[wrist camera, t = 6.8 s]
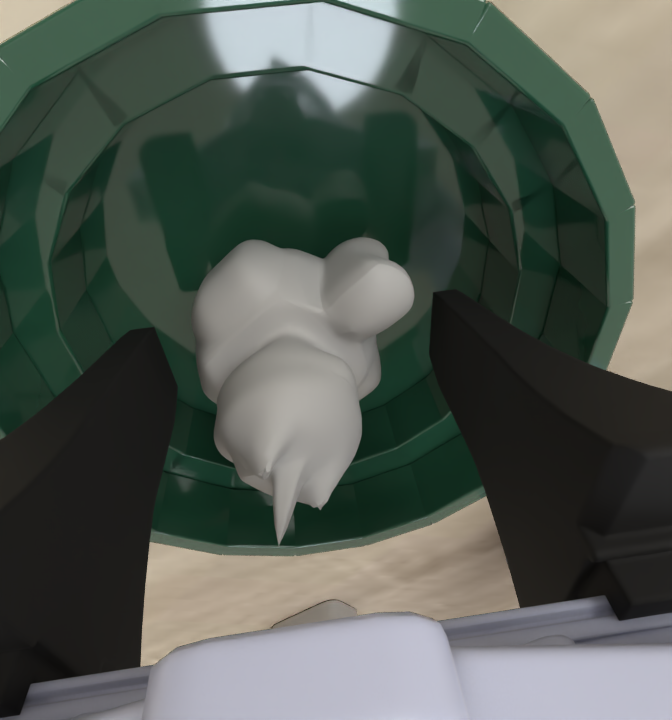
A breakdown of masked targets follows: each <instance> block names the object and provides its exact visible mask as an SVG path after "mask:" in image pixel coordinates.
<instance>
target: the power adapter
mask: <svg viewBox="0 0 672 720" xmlns="http://www.w3.org/2000/svg"><path fill="white" fill-rule="evenodd" d="M352 616H357V611H356V609H354V608H352V607H350V606H348V605H346V604H345V603H343V602H341V601H337V600H330V601H326V602H323V603H321V604H319V605H317V606H314V607H312V608H310V609H308V610H306V611H303V612H301V613H299V614H297V615H295V616H293V617H290V618H288V619H286V620H284V621H282V622H279V623H277V624H275V625H274V626H273V627H272V629H273V628H280V627H286V626H293V625H299V624H306V623H312V622H319V621H326V620H332V619H339V618H345V617H352Z"/></svg>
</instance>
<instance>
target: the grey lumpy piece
mask: <svg viewBox="0 0 672 720" xmlns="http://www.w3.org/2000/svg"><path fill="white" fill-rule="evenodd" d="M413 301H414V289H413V285H412V282H411V279H410V277H409V275H408V274H407V272H406V271H405V270H404V269H403V268H402V267H401V266H400V265H398V264H397V263H395V262H393V261H390V260H389V256H388V250H387V249H386V248H385V246H384V245H383V244H382V243H380V242H379V241H377V240H374V239H371V238H365V237H359V238H353V239H350V240H347V241H345V242H343V243H341V244H339V245H338V246H336V247H335V248H334V249H333V250H332V251H331V252H330V253H329V254H328V255H327V256H326V257H325V258H324V259H322V258H319V257H317V256H314V255H312V254H309V253H306V252H303V251H300V250H297V249H291V248H286V249H282V248H279V247H276V246H274V245H272V244H270V243H268V242H265V241H262V240H247V241H244V242H242V243H240V244H239V245H237V246H236V247H235V248H234V249H233V250H231V251H230V252H229V253H228V254H227V255H226V256H225V257H224V258H223V259H222V260H221V261H220V262H219V263H218V264H217V265H216V266H215V267H214V268H213V269H212V270H211V271H210V272H209V273H208V274H207V276H206V277H205V278H204V280H203V282H202V284H201V285H200V287H199V290H198V292H197V295H196V297H195V300H194V304H193V309H192V318H191V324H192V330H193V333H194V336H195V339H196V363H197V369H198V374H199V378H200V382H201V387H202V389H203V392H204V393H205V395H206V396H207V397H208V398H209V399H210V400H211V401H213V402H214V403H216V404H217V415H216V421H215V427H214V441H215V445H216V447H217V449H218V451H219V452H220V453H221V455H222V456H224V457H225V458H226V459H227V460H229V461H231V462H233V463H234V465H235V468H236V471H237V473H238V475H239V477H240V479H241V480H242V481H243V482H245V483H247V484H249V485H251V486H252V487H254V488H256V489H258V490H260V491H262V492H264V493H266V494H269V495H271V496H273V512H274V524H275V530H276V535H277V540H278V545H279V544H280V542H281V540H282V538H283V536H284V534H285V532H286V529H287V527H288V524H289V522H290V519H291V516H292V514H293V511H294V508H295V505H296V502H301V503H305V504H309V505H311V506H312V507H313V508H314V507H318V508H319V509H320V510H321V508H322V507H323V506H324V505H325V504H326V503H327V501H328V499H329V497H330V495H331V493H332V491H333V490H334V488H335V487H336V485H337V484H338V482H339V480H340V479H341V477H342V476H343V474H344V472H345V471H346V470H347V468H348V467H349V465H350V463H351V462H352V460H353V458H354V456H355V454H356V452H357V449H358V446H359V443H360V440H361V436H362V416H361V410H360V406H359V400H361V399H362V398H364V397H365V396H366V395H368V394H369V393H370V392H372V391H373V390H374V389H375V388H376V387H377V386H378V384H379V382H380V380H381V364H380V356H379V352H378V347H377V343H376V334H378V333H380V332H382V331H384V330H385V329H387V328H388V327H390V326H391V325H393V324H394V323H396V322H397V321H398V320H399V319H401V318H402V317H403V316H404V315H406V313H407V312H408V311H409V310H410V309H411V307H412V305H413Z"/></svg>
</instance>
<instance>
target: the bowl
mask: <svg viewBox="0 0 672 720" xmlns="http://www.w3.org/2000/svg"><path fill="white" fill-rule="evenodd" d="M634 204H635V200H634V198H633V195H632V193H631V191H630V188H629V186H628V183H627V181H626V178H625V176H624V173H623V171H622V168H621V166H620V163H619V161H618V158H617V156H616V153H615V151H614V148H613V146H612V143H611V141H610V139H609V136H608V134H607V131H606V129H605V126H604V124H603V121H602V119H601V116H600V114H599V111H598V109H597V106H596V104H595V101H594V99H593V98H591V97H590V94H589V93H588V92H587V91H586V90H585V89H584V88H583V87H582V86H581V85H580V84H579V83H578V82H577V81H575V80H574V79H573V78H572V77H571V76H570V75H569V74H568V73H567V72H566V71H565V70H564V69H563V68H562V67H561V66H559V65H558V64H557V63H556V62H555V61H554V60H553V59H552V58H551V57H550V56H549V55H548V54H547V53H546V52H544V51H543V50H542V49H541V48H540V47H539V46H538V45H537V44H536V43H535V42H534V41H533V40H532V39H531V38H530V37H528V36H527V35H526V34H525V33H524V32H523V31H522V30H521V29H520V28H519V27H518V26H517V25H516V24H515V23H514V22H512V21H511V20H510V19H509V18H508V17H507V16H506V15H505V14H504V13H503V12H502V11H501V10H500V9H499V8H497V7H496V6H495V5H494V4H493V3H492V2H489V1H486V0H73V1H72V2H70V3H68V4H67V5H65V6H63V7H61V8H60V9H58V10H56V11H54V12H53V13H51V14H49V15H48V16H46V17H44V18H42V19H41V20H39V21H37V22H36V23H34V24H32V25H30V26H29V27H27V28H25V29H24V30H22V31H20V32H18V33H17V34H15V35H13V36H12V37H10V38H8V39H6V40H5V41H3V42H1V43H0V440H1V439H2V438H4V437H5V436H7V435H8V434H9V433H11V432H12V431H14V430H15V429H16V428H18V427H19V426H20V425H22V424H23V423H25V422H26V421H27V420H29V419H30V418H31V417H32V416H34V415H35V414H36V413H38V412H39V411H40V410H41V409H43V408H44V407H45V406H46V405H47V404H49V403H50V402H51V401H52V400H53V399H54V398H56V397H57V396H58V395H59V394H60V393H61V392H63V391H64V390H65V389H66V388H67V387H68V386H70V385H71V384H72V383H73V382H74V381H75V380H76V379H78V378H79V377H80V376H81V375H82V374H83V373H84V372H85V371H86V370H87V369H88V368H89V367H90V366H91V365H92V364H93V363H95V362H96V361H97V360H98V359H99V358H100V357H101V356H102V355H103V354H104V353H105V352H106V351H107V350H108V349H109V348H110V347H111V346H112V345H114V344H115V343H116V342H117V341H118V340H119V339H120V338H121V337H122V336H123V335H125V334H126V333H127V332H128V331H130V330H134V329H142V328H150V327H154V328H155V330H156V333H157V335H158V338H159V340H160V343H161V345H162V348H163V350H164V353H165V355H166V358H167V360H168V363H169V365H170V368H171V371H172V373H173V376H174V378H175V381H176V383H177V386H178V392H177V405H176V415H175V422H174V426H173V431H172V435H171V439H170V443H169V448H168V452H167V456H166V460H165V464H164V468H163V472H162V476H161V480H160V484H159V488H158V492H157V496H156V501H155V506H154V512H153V520H152V528H151V535H150V542H154V543H159V544H165V545H170V546H175V547H180V548H186V549H191V550H196V551H202V552H207V553H212V554H217V555H222V554H223V555H246V556H295V555H296V556H301V555H307V554H314V553H321V552H328V551H335V550H341V549H348V548H355V547H362V546H365V545H370V544H373V543H376V542H379V541H382V540H386V539H389V538H392V537H395V536H398V535H401V534H404V533H407V532H410V531H413V530H417V529H420V528H423V527H426V526H429V525H432V523H436V522H438V521H440V520H442V519H444V518H446V517H448V516H450V515H451V514H453V513H455V512H457V511H459V510H461V509H463V508H465V507H466V506H468V505H470V504H472V503H474V502H476V501H478V500H480V499H482V498H483V497H485V496H486V493H485V490H484V487H483V484H482V481H481V479H480V476H479V473H478V470H477V467H476V464H475V462H474V460H473V457H472V455H471V453H470V450H469V448H468V446H467V444H466V442H465V440H464V438H463V436H462V434H461V431H460V429H459V427H458V425H457V423H456V421H455V419H454V417H453V415H452V413H451V411H450V409H449V406H448V404H447V402H446V400H445V398H444V396H443V394H442V392H441V389H440V387H439V385H438V382H437V379H436V376H435V373H434V370H433V366H432V363H431V360H430V356H429V344H430V329H431V314H432V299H433V292H437V291H445V290H453V289H457V290H458V291H460V292H462V293H463V294H465V295H467V296H468V297H470V298H471V299H473V300H474V301H476V302H477V303H479V304H480V305H482V306H483V307H485V308H486V309H488V310H489V311H491V312H493V313H494V314H496V315H497V316H499V317H500V318H502V319H503V320H505V321H507V322H508V323H510V324H512V325H513V326H515V327H516V328H518V329H520V330H522V331H523V332H525V333H527V334H529V335H530V336H532V337H534V338H536V339H538V340H540V341H541V342H543V343H545V344H547V345H549V346H551V347H553V348H555V349H557V350H559V351H561V352H563V353H566V354H568V355H570V356H572V357H575V358H577V359H579V360H581V361H583V362H586V363H588V364H591V365H593V366H596V367H598V368H601V369H604V370H607V368H608V365H609V363H610V360H611V358H612V355H613V352H614V350H615V347H616V345H617V342H618V340H619V337H620V334H621V332H622V329H623V327H624V324H625V321H626V319H627V316H628V314H629V311H630V309H631V306H632V300H633V295H634V251H635V205H634ZM359 237H365V238H371V239H374V240H377V241H379V242H380V243H382V244H383V245H384V246H385V248H386V249H387V250H388V256H389V260H390V261H393V262H395V263H397V264H398V265H400V266H401V267H402V268H403V269H404V270H405V271H406V272H407V274H408V275H409V277H410V279H411V282H412V285H413V289H414V301H413V305H412V307H411V309H410V310H409V311H408V312H407V313H406V315H404V316H403V317H402V318H401V319H399V320H398V321H397V322H396V323H394V324H393V325H391V326H390V327H388V328H387V329H385V330H384V331H382V332H380V333H378V334H376V343H377V347H378V352H379V356H380V364H381V380H380V382H379V384H378V386H377V387H376V388H375V389H374V390H373V391H372V392H370V393H369V394H368V395H366V396H365V397H364V398H362V399H361V400H359V406H360V410H361V416H362V436H361V440H360V443H359V446H358V449H357V452H356V454H355V456H354V458H353V460H352V462H351V463H350V465H349V467H348V468H347V470H346V471H345V472H344V474H343V476H342V477H341V479H340V480H339V482H338V484H337V485H336V487H335V488H334V490H333V491H332V493H331V495H330V497H329V499H328V501H327V503H326V504H325V505H324V506H323V507H322V508H321V510H320V509H319V508H318V507H314V508H313V507H312V506H311V505H309V504H305V503H301V502H296V505H295V508H294V511H293V514H292V516H291V519H290V522H289V524H288V527H287V529H286V532H285V534H284V536H283V538H282V540H281V542H280V544H279V545H278V540H277V535H276V530H275V524H274V512H273V496H271V495H269V494H266V493H264V492H262V491H260V490H258V489H256V488H254V487H252V486H251V485H249V484H247V483H245V482H243V481H242V480H241V479H240V477H239V475H238V473H237V471H236V468H235V465H234V463H233V462H231V461H229V460H227V459H226V458H225V457H224V456H222V455H221V453H220V452H219V451H218V449H217V447H216V445H215V441H214V427H215V421H216V415H217V404H216V403H214V402H213V401H211V400H210V399H209V398H208V397H207V396H206V395H205V393H204V392H203V389H202V387H201V382H200V378H199V374H198V369H197V363H196V339H195V336H194V333H193V330H192V324H191V318H192V309H193V304H194V300H195V297H196V295H197V292H198V290H199V287H200V285H201V284H202V282H203V280H204V278H205V277H206V276H207V274H208V273H209V272H210V271H211V270H212V269H213V268H214V267H215V266H216V265H217V264H218V263H219V262H220V261H221V260H222V259H223V258H224V257H225V256H226V255H227V254H228V253H229V252H230V251H231V250H233V249H234V248H235V247H236V246H237V245H239V244H240V243H242V242H244V241H247V240H262V241H265V242H268V243H270V244H272V245H274V246H276V247H279V248H282V249H286V248H291V249H297V250H300V251H303V252H306V253H309V254H312V255H314V256H317V257H319V258H322V259H324V258H325V257H326V256H327V255H328V254H329V253H330V252H331V251H332V250H333V249H334V248H335V247H336V246H338V245H339V244H341V243H343V242H345V241H347V240H350V239H353V238H359Z"/></svg>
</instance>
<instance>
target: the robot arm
mask: <svg viewBox="0 0 672 720" xmlns="http://www.w3.org/2000/svg"><path fill="white" fill-rule="evenodd" d="M429 356H430V360H431V363H432V366H433V370H434V373H435V376H436V379H437V382H438V385H439V387H440V389H441V392H442V394H443V396H444V398H445V400H446V402H447V404H448V406H449V409H450V411H451V413H452V415H453V417H454V419H455V421H456V423H457V425H458V427H459V429H460V431H461V434H462V436H463V438H464V440H465V442H466V444H467V446H468V448H469V450H470V453H471V455H472V457H473V460H474V462H475V464H476V467H477V470H478V473H479V476H480V479H481V481H482V484H483V487H484V490H485V493H486V496H487V499H488V502H489V505H490V508H491V511H492V514H493V517H494V520H495V523H496V527H497V530H498V533H499V536H500V539H501V543H502V546H503V549H504V553H505V556H506V562H507V564H508V566H509V569H510V573H511V576H512V580H513V584H514V587H515V591H516V595H517V598H518V602H519V606H520V608H518V609H512V610H505V611H499V612H492V613H486V614H479V615H473V616H467V617H460V618H454V619H447V620H441V621H436V620H434V619H432V618H429V617H426V616H423V615H419V614H416V613H412V612H384V613H371V614H365V615H358V616H352V617H345V618H339V619H332V620H326V621H319V622H312V623H306V624H299V625H293V626H286V627H280V628H273V629H267V630H260V631H254V632H247V633H241V634H234V635H227V636H221V637H214V638H209V639H205V640H201V641H198V642H194V643H190V644H187V645H183V646H180V647H177V648H175V649H174V650H173V651H171V652H170V653H169V654H167V655H166V656H165V657H163V658H162V659H161V660H159V661H158V662H157V663H156V664H155V665H150V666H143V667H140V661H141V639H142V622H143V608H144V594H145V582H146V572H147V562H148V552H149V543H150V535H151V528H152V520H153V512H154V506H155V501H156V496H157V492H158V488H159V484H160V480H161V476H162V472H163V468H164V464H165V460H166V456H167V452H168V448H169V443H170V439H171V435H172V431H173V426H174V422H175V415H176V405H177V392H178V386H177V383H176V381H175V378H174V376H173V373H172V371H171V368H170V365H169V363H168V360H167V358H166V355H165V353H164V350H163V348H162V345H161V343H160V340H159V338H158V335H157V333H156V330H155V328H154V327H150V328H142V329H134V330H130V331H128V332H127V333H126V334H125V335H123V336H122V337H121V338H120V339H119V340H118V341H117V342H116V343H115V344H114V345H112V346H111V347H110V348H109V349H108V350H107V351H106V352H105V353H104V354H103V355H102V356H101V357H100V358H99V359H98V360H97V361H96V362H95V363H93V364H92V365H91V366H90V367H89V368H88V369H87V370H86V371H85V372H84V373H83V374H82V375H81V376H80V377H79V378H78V379H76V380H75V381H74V382H73V383H72V384H71V385H70V386H68V387H67V388H66V389H65V390H64V391H63V392H61V393H60V394H59V395H58V396H57V397H56V398H54V399H53V400H52V401H51V402H50V403H49V404H47V405H46V406H45V407H44V408H43V409H41V410H40V411H39V412H38V413H36V414H35V415H34V416H32V417H31V418H30V419H29V420H27V421H26V422H25V423H23V424H22V425H20V426H19V427H18V428H16V429H15V430H14V431H12V432H11V433H9V434H8V435H7V436H5V437H4V438H2V439H1V440H0V720H672V391H668V390H665V389H661V388H658V387H654V386H651V385H647V384H644V383H641V382H638V381H635V380H632V379H629V378H626V377H623V376H620V375H617V374H615V373H612V372H609V371H606V370H604V369H601V368H598V367H596V366H593V365H591V364H588V363H586V362H583V361H581V360H579V359H577V358H575V357H572V356H570V355H568V354H566V353H563V352H561V351H559V350H557V349H555V348H553V347H551V346H549V345H547V344H545V343H543V342H541V341H540V340H538V339H536V338H534V337H532V336H530V335H529V334H527V333H525V332H523V331H522V330H520V329H518V328H516V327H515V326H513V325H512V324H510V323H508V322H507V321H505V320H503V319H502V318H500V317H499V316H497V315H496V314H494V313H493V312H491V311H489V310H488V309H486V308H485V307H483V306H482V305H480V304H479V303H477V302H476V301H474V300H473V299H471V298H470V297H468V296H467V295H465V294H463V293H462V292H460V291H458V290H457V289H453V290H445V291H437V292H433V299H432V314H431V329H430V344H429Z"/></svg>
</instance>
